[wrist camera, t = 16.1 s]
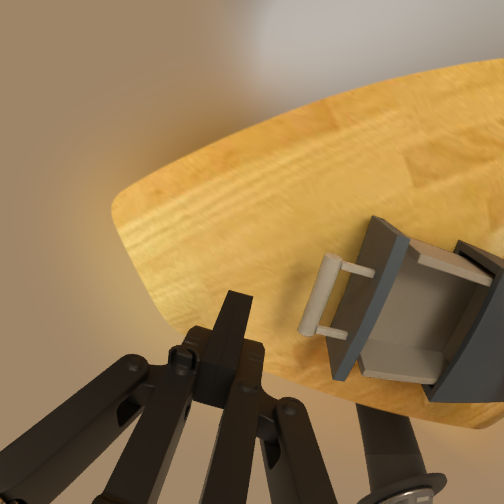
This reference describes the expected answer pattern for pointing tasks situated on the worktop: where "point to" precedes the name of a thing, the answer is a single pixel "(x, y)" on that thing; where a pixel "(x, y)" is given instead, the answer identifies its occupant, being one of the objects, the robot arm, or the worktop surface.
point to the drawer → (397, 307)
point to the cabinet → (477, 345)
